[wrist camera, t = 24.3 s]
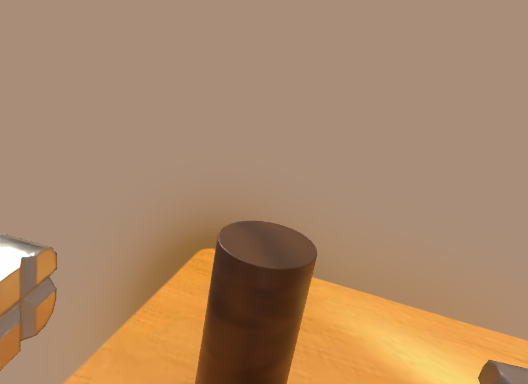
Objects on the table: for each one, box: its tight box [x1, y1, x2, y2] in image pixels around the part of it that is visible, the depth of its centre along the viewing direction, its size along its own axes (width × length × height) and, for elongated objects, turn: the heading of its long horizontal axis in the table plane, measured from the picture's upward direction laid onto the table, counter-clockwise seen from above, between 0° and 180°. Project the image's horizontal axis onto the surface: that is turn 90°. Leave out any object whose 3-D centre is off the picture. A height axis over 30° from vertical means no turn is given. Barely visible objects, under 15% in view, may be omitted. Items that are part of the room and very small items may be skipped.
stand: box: [195, 221, 317, 384], centre depth 39 cm, size 8×8×18 cm
